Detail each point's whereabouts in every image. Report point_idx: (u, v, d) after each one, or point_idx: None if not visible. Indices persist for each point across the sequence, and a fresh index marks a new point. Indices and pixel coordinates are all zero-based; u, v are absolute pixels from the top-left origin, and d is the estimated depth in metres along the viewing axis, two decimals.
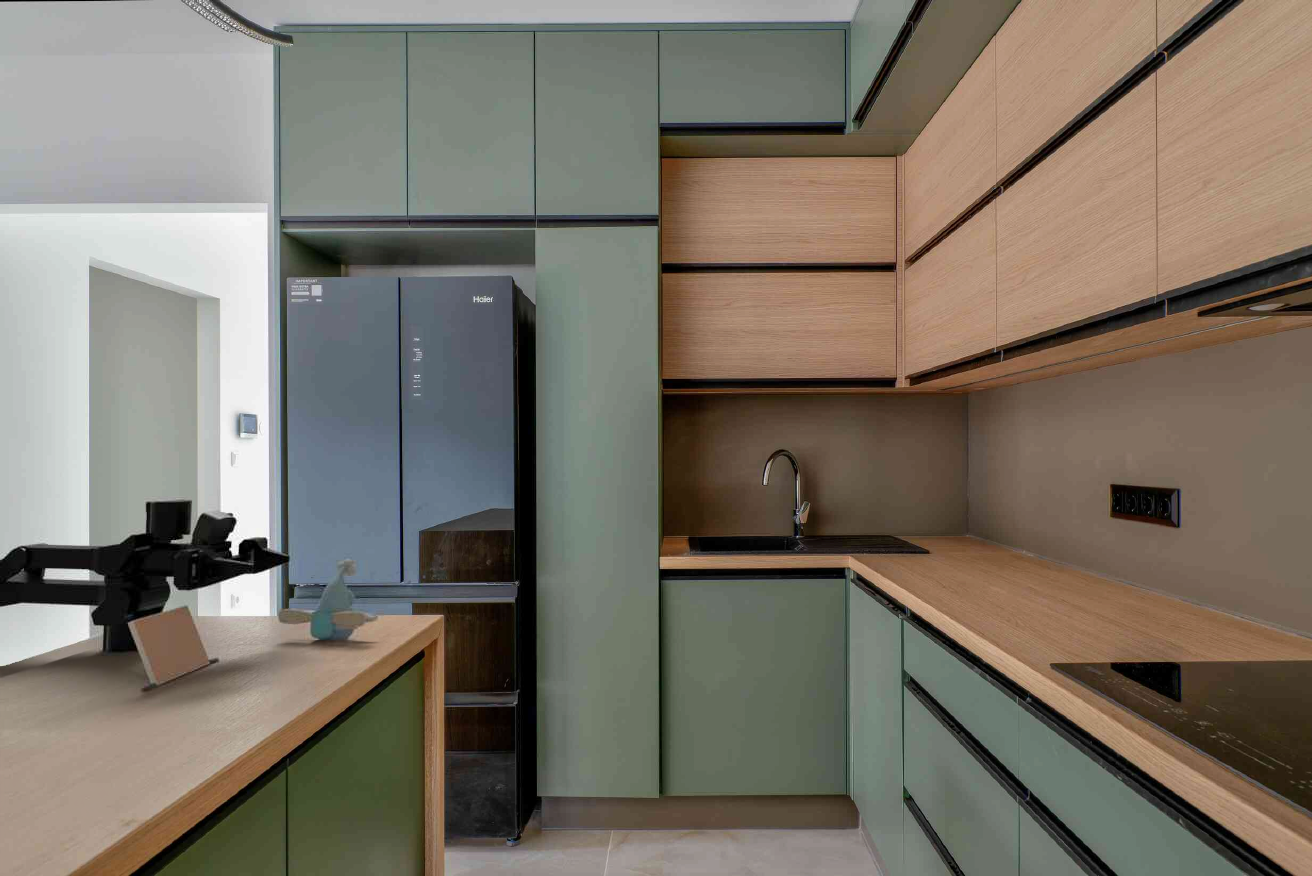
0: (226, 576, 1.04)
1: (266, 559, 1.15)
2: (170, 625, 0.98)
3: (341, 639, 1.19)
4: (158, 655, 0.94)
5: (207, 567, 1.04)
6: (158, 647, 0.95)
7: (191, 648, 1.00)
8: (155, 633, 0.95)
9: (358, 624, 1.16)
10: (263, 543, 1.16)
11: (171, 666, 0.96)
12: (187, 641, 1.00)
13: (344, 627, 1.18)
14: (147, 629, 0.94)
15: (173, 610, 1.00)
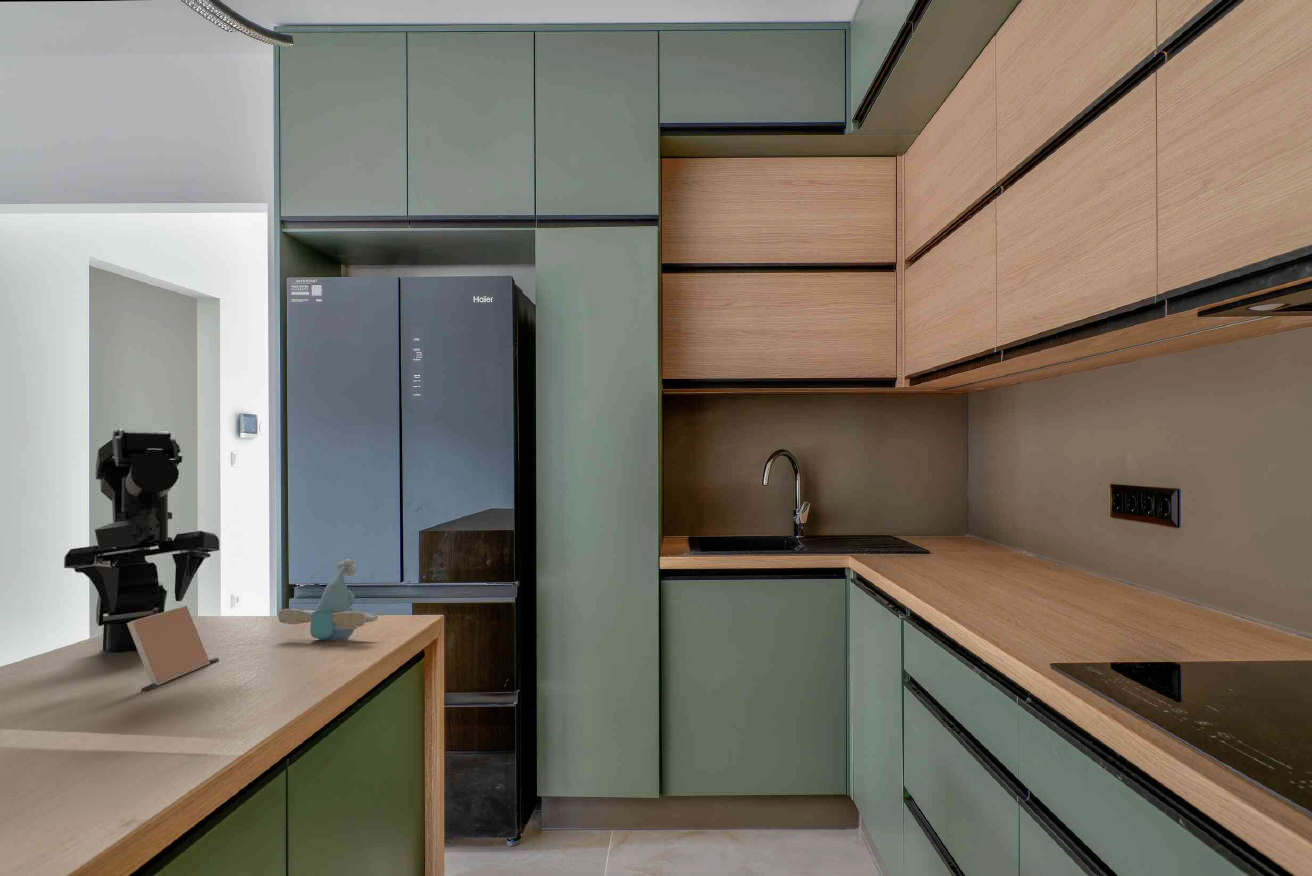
0: None
1: None
2: (170, 625, 0.98)
3: (341, 639, 1.19)
4: (158, 655, 0.94)
5: None
6: (158, 648, 0.95)
7: (191, 648, 1.00)
8: (154, 633, 0.95)
9: (358, 624, 1.16)
10: (183, 558, 0.99)
11: (171, 666, 0.96)
12: (186, 641, 1.00)
13: (344, 627, 1.18)
14: (146, 629, 0.94)
15: (172, 610, 1.00)
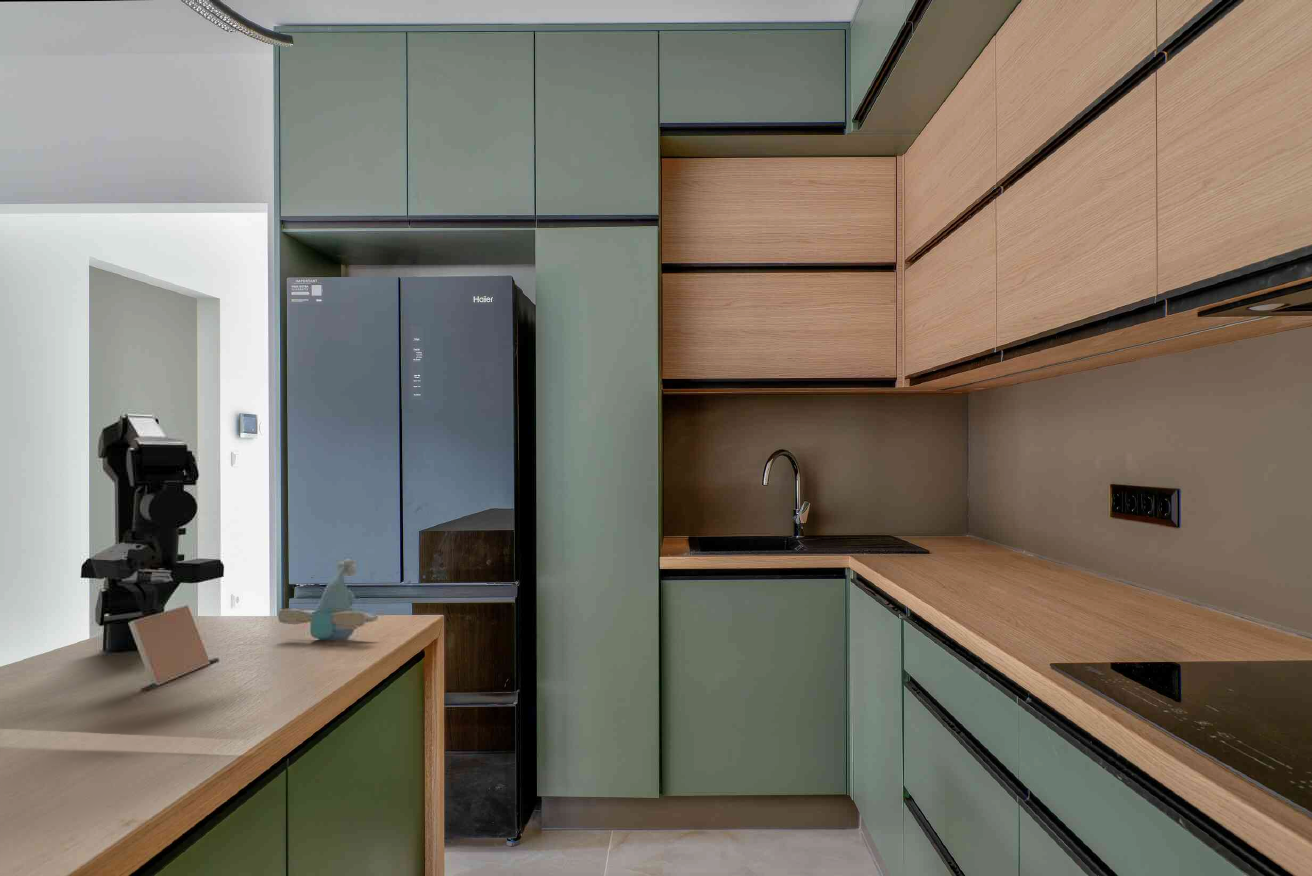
0: None
1: None
2: (171, 624, 0.98)
3: (341, 639, 1.19)
4: (158, 655, 0.94)
5: None
6: (159, 647, 0.95)
7: (191, 648, 1.00)
8: (155, 633, 0.95)
9: (358, 624, 1.16)
10: (150, 588, 0.96)
11: (171, 666, 0.96)
12: (187, 641, 1.00)
13: (344, 627, 1.18)
14: (147, 629, 0.94)
15: (174, 610, 1.00)
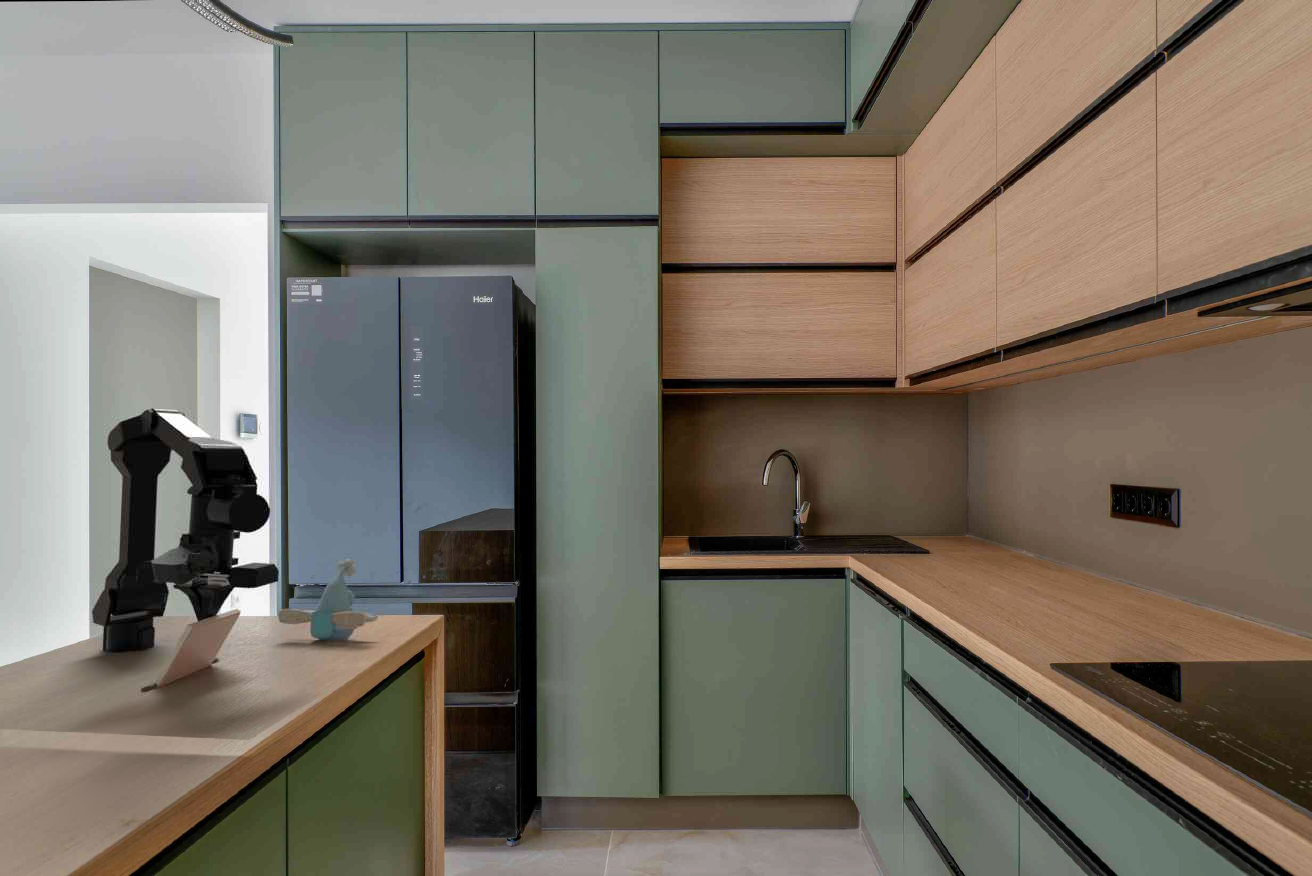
0: None
1: None
2: (214, 631, 0.98)
3: (341, 639, 1.19)
4: (181, 661, 0.94)
5: None
6: (187, 653, 0.95)
7: (209, 653, 1.00)
8: (197, 640, 0.95)
9: (358, 624, 1.16)
10: (207, 592, 0.95)
11: (181, 670, 0.95)
12: (211, 647, 1.00)
13: (344, 627, 1.18)
14: (195, 636, 0.94)
15: (227, 617, 0.99)
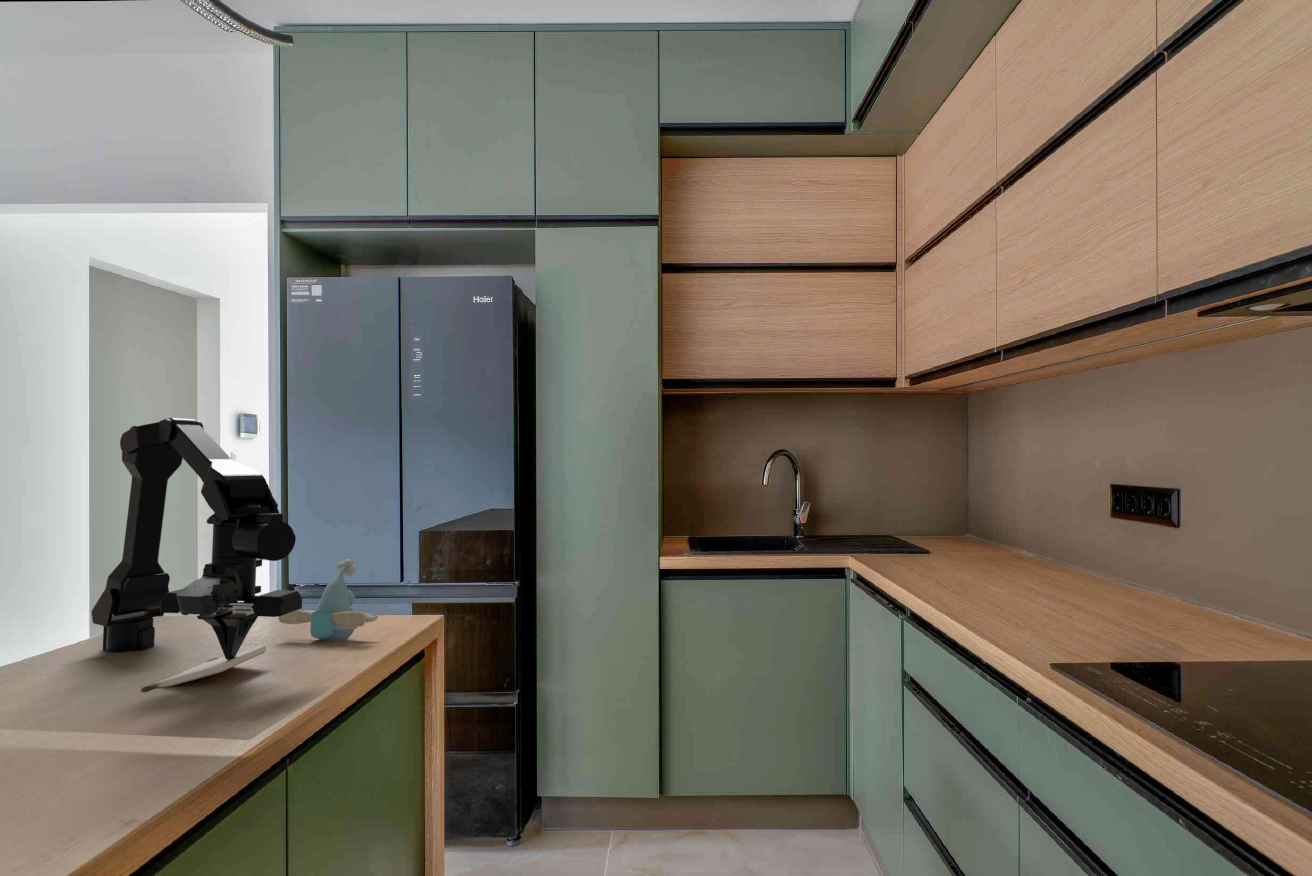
0: None
1: None
2: None
3: (341, 639, 1.19)
4: None
5: None
6: None
7: None
8: None
9: (358, 624, 1.16)
10: (233, 622, 0.95)
11: None
12: None
13: (344, 627, 1.18)
14: None
15: (252, 657, 0.99)
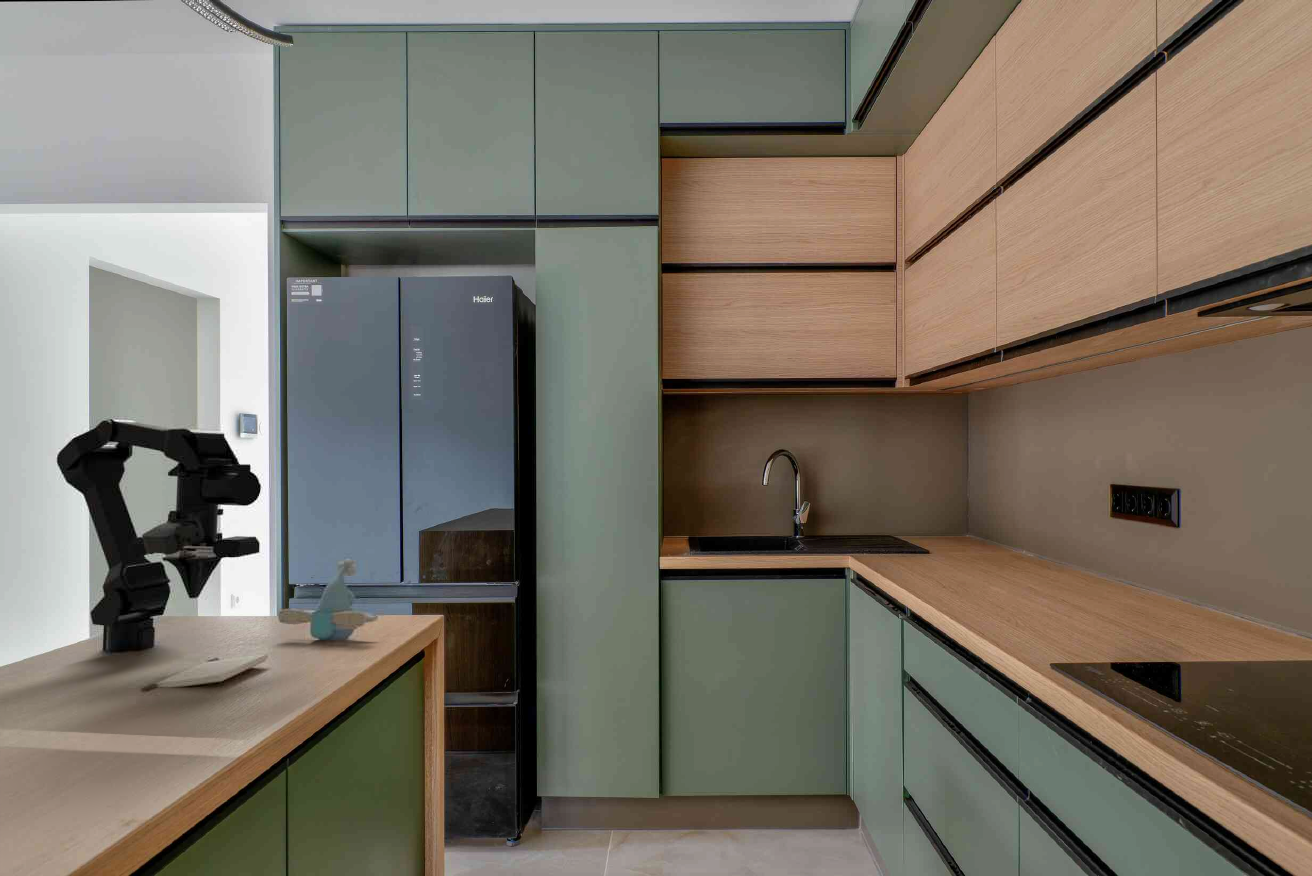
0: None
1: None
2: None
3: (341, 639, 1.19)
4: None
5: None
6: None
7: None
8: None
9: (358, 624, 1.16)
10: (196, 563, 1.05)
11: None
12: None
13: (344, 627, 1.18)
14: None
15: (254, 665, 0.99)
